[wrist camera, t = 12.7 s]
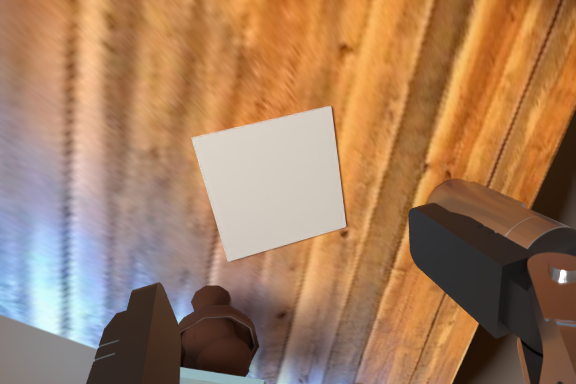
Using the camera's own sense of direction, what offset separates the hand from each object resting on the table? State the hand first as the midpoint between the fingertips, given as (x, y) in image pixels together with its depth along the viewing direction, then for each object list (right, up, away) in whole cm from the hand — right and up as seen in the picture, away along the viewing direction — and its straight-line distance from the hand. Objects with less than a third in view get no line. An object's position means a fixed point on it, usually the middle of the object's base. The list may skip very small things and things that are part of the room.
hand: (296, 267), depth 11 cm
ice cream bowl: (-12, -14, +40) cm, 44 cm away
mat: (-2, +3, +36) cm, 36 cm away
